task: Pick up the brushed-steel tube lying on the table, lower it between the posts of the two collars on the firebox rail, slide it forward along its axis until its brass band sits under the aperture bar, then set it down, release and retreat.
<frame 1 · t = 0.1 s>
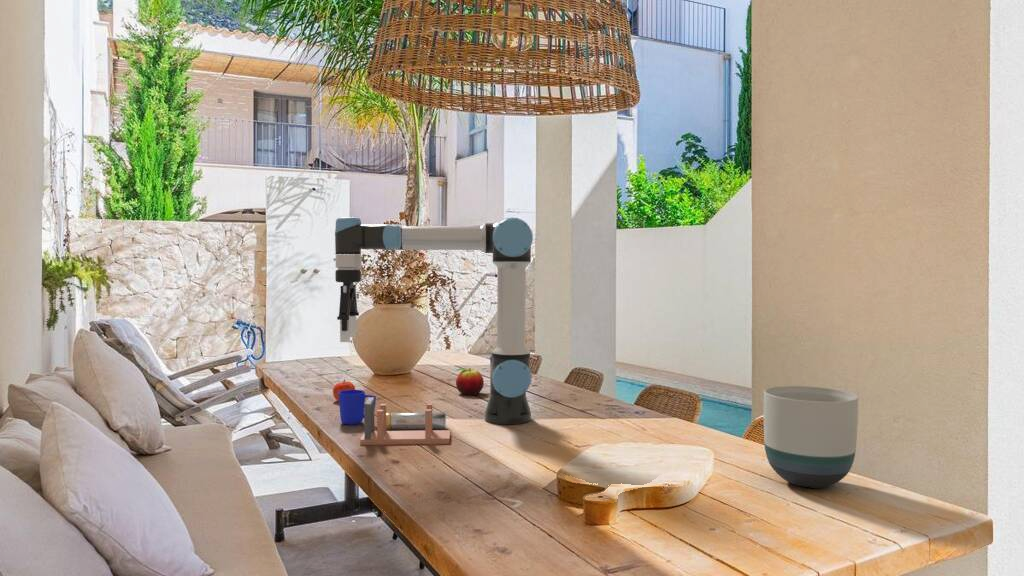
hand: (348, 339, 222), 28 cm above the table, fingers open, 13 cm apart
apple: (344, 401, 270), on the table
fruit: (469, 394, 285), on the table
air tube: (412, 429, 226), on the table
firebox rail: (406, 439, 213), on the table
planter: (808, 485, 172), on the table
mug: (357, 424, 233), on the table
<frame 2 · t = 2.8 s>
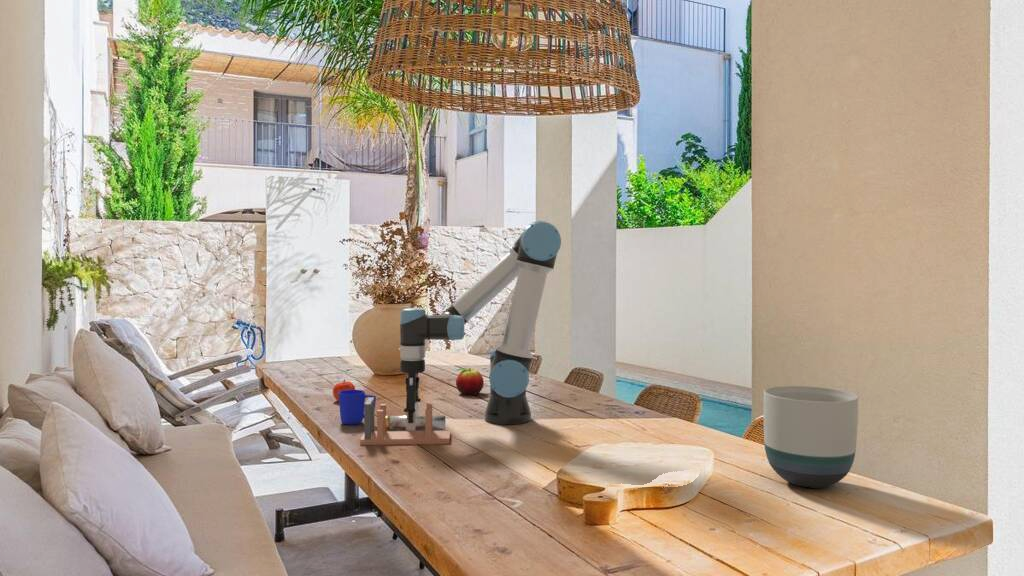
hand: (412, 428, 226), 0 cm above the table, fingers open, 13 cm apart
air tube: (412, 422, 224), point 2 cm above the table, tilted 89°, touching gripper
everything else where it was.
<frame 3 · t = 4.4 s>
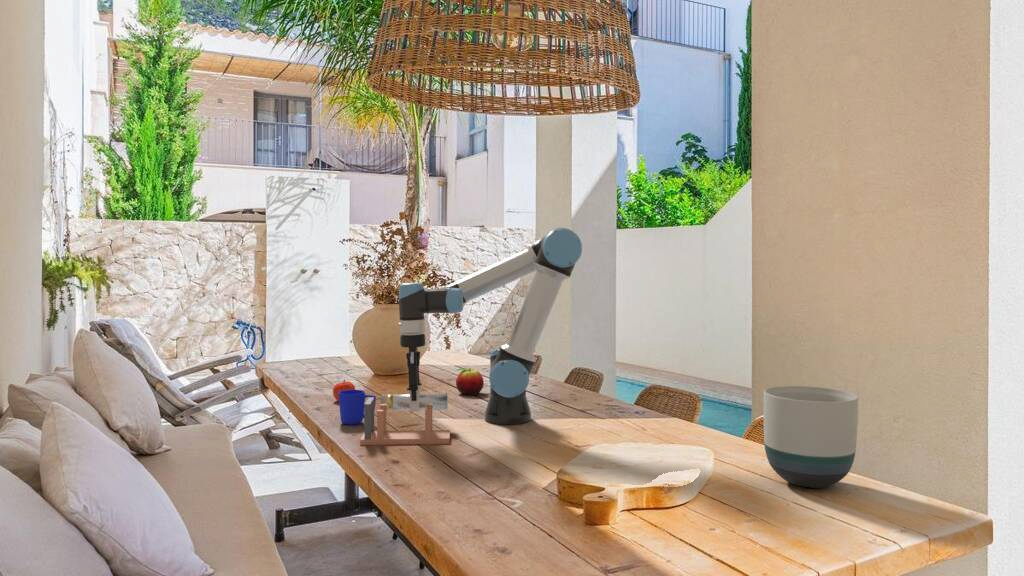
hand: (415, 409, 225), 6 cm above the table, fingers closed on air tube, 5 cm apart
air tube: (414, 409, 226), point 6 cm above the table, tilted 19°, touching gripper
everything else where it was.
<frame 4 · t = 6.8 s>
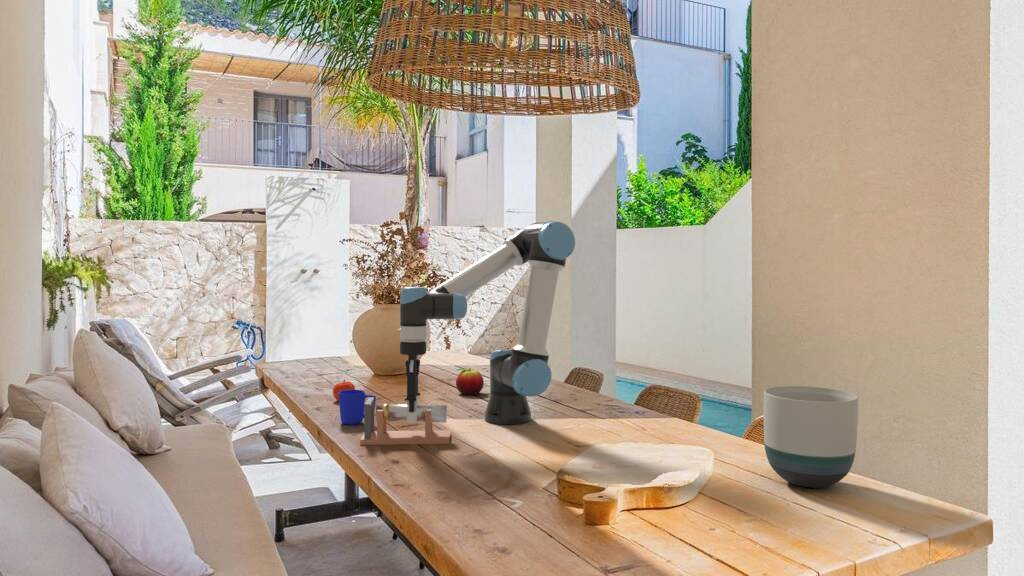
hand: (412, 420, 212), 6 cm above the table, fingers closed on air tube, 5 cm apart
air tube: (411, 420, 213), point 5 cm above the table, tilted 19°, touching gripper
everything else where it was.
when the fingers open (3 cm above the table, at t = 9.1 s): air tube stays where it is, resting on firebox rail.
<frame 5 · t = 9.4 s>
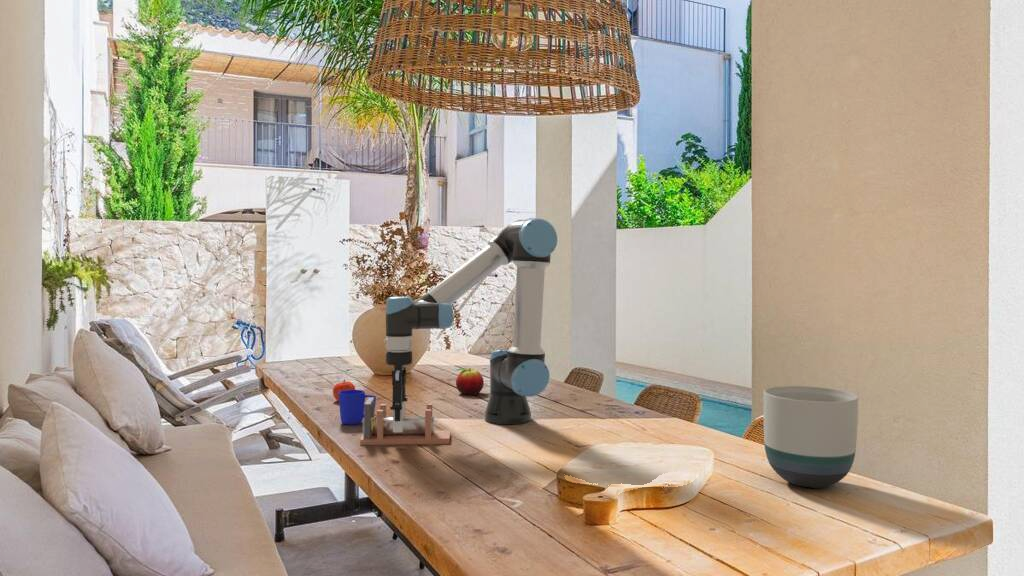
hand: (399, 427, 212), 4 cm above the table, fingers open, 9 cm apart
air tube: (398, 433, 213), point 2 cm above the table, tilted 18°, touching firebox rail
everything else where it was.
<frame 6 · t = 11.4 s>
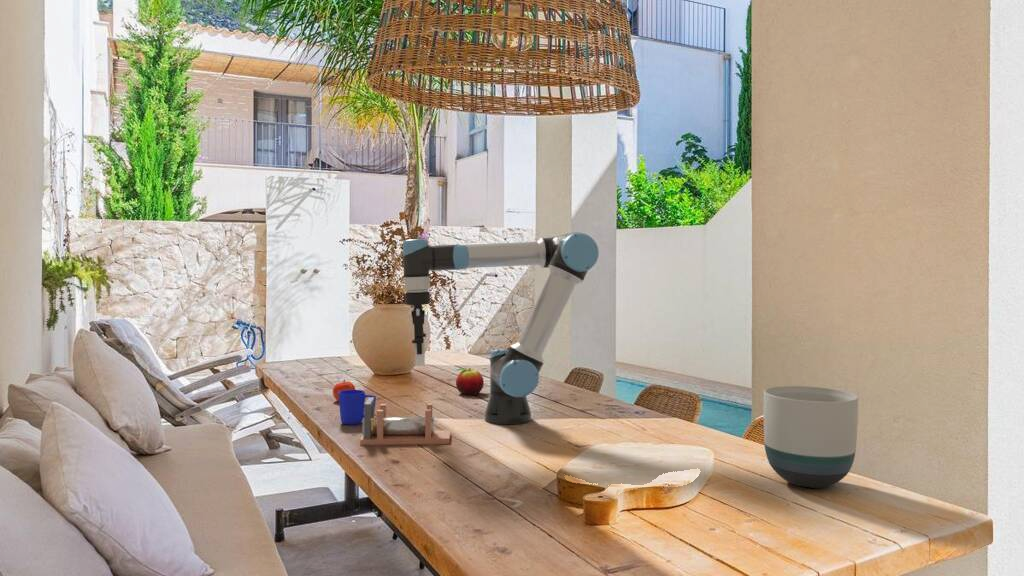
hand: (420, 362, 220), 21 cm above the table, fingers open, 13 cm apart
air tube: (398, 433, 213), point 2 cm above the table, tilted 28°, touching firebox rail
everything else where it was.
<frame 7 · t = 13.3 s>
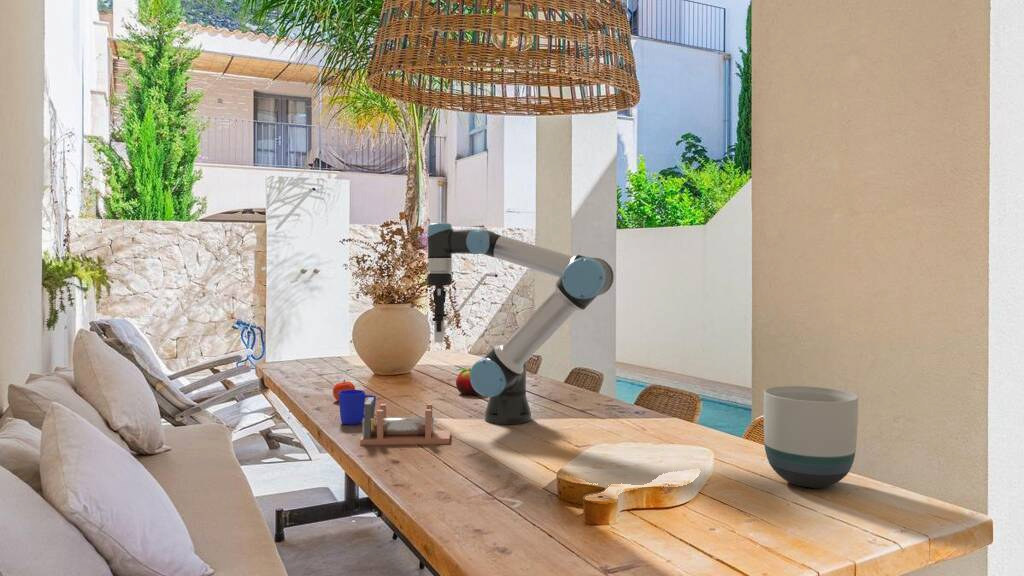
hand: (439, 339, 232), 27 cm above the table, fingers open, 13 cm apart
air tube: (398, 432, 213), point 2 cm above the table, tilted 35°, touching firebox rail
everything else where it was.
at the end: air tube 0.9 cm from the target spot on the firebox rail, point 2.0 cm above the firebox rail's base; the gripper is holding nothing; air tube touching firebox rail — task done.
